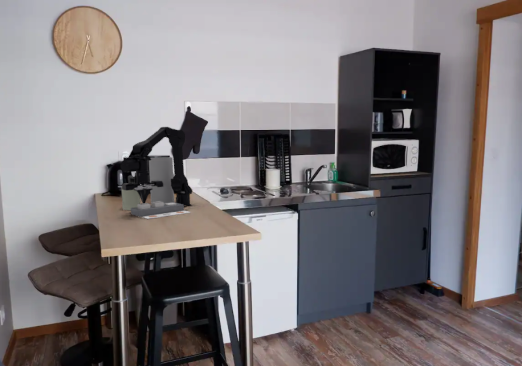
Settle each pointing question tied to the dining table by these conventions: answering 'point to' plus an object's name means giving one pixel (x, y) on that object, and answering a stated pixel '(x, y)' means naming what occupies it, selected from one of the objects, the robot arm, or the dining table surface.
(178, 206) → the button board
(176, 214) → the pattern card
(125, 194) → the can
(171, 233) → the dining table surface
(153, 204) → the button middle
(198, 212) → the dining table surface
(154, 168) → the cylinder vase
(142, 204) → the button
